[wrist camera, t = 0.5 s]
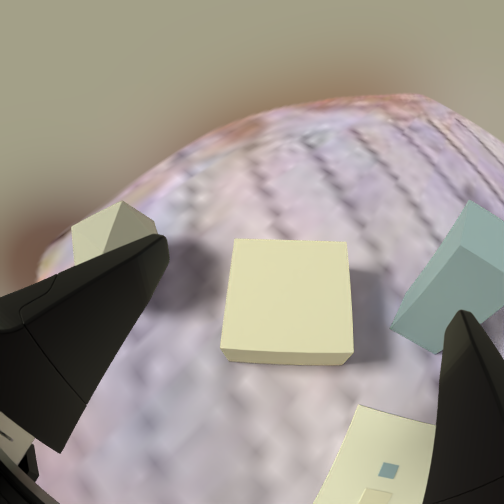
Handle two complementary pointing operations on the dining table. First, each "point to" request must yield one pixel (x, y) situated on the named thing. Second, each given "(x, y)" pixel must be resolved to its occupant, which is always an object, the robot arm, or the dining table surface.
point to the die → (109, 231)
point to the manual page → (380, 461)
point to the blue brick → (456, 280)
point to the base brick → (288, 303)
